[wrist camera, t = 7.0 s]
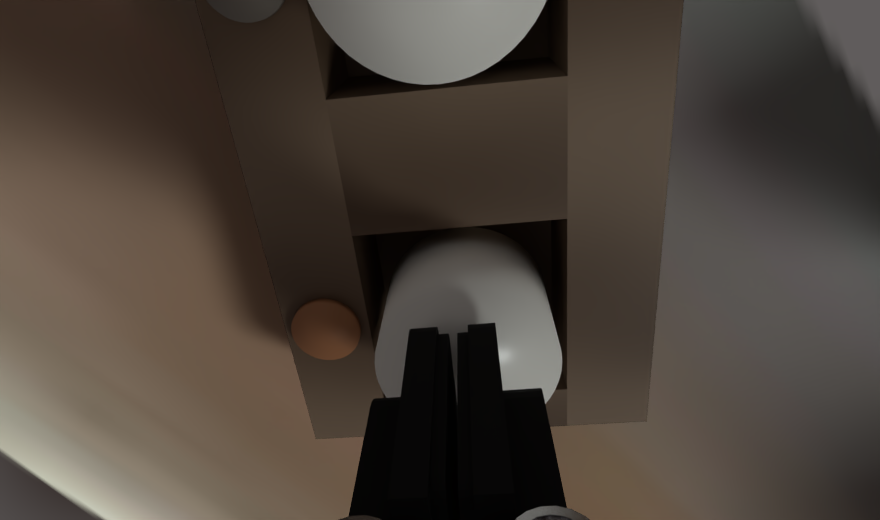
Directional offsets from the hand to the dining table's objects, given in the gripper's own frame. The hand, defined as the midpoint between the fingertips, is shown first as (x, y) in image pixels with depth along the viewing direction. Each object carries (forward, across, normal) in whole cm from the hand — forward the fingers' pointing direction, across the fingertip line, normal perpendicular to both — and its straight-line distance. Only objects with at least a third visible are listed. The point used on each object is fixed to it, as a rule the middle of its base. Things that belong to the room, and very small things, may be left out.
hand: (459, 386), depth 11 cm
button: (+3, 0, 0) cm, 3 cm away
